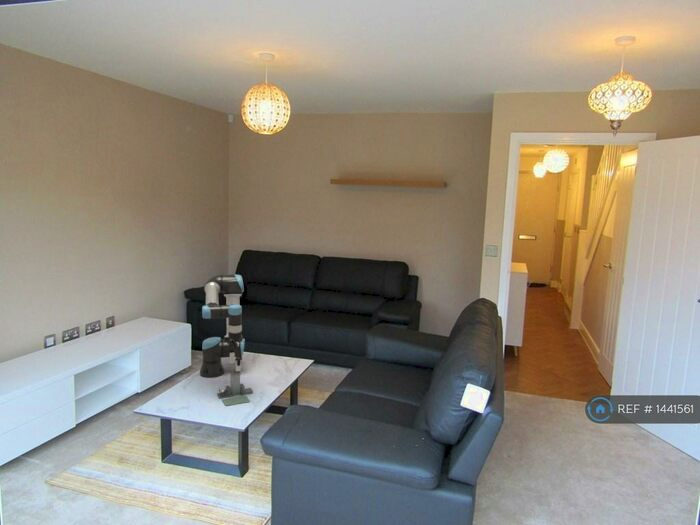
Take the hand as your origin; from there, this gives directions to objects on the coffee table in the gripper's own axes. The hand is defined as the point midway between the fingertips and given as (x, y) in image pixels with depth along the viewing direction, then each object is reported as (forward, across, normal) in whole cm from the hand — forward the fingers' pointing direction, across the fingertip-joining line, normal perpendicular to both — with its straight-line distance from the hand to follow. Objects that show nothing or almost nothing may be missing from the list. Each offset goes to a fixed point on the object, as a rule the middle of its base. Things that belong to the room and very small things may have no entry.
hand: (235, 366), depth 287 cm
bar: (+17, 0, 0) cm, 17 cm away
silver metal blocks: (+17, 0, 0) cm, 17 cm away
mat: (+17, +9, -2) cm, 19 cm away
